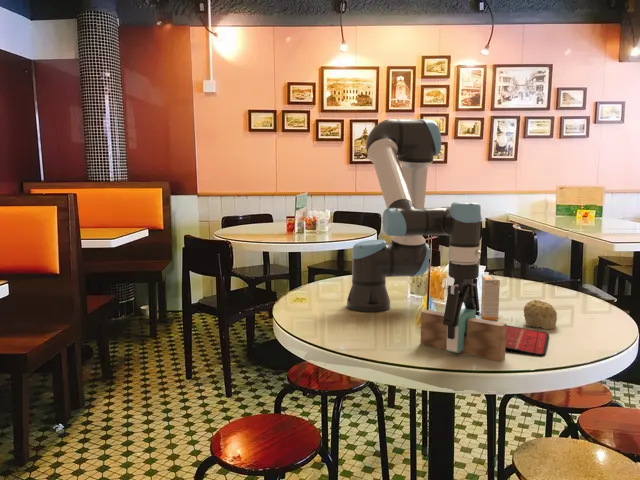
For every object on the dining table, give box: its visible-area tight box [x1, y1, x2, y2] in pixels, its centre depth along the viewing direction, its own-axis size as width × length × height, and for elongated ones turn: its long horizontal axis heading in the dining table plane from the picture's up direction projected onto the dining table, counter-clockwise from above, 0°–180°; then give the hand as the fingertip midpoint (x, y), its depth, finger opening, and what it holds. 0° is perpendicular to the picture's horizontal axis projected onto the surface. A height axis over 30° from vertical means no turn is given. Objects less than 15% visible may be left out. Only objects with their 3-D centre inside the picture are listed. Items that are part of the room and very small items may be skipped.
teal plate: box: [446, 307, 477, 354], centre depth 135 cm, size 11×3×9 cm, turn 142°
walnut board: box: [420, 309, 508, 362], centre depth 135 cm, size 22×3×9 cm, turn 52°
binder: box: [505, 324, 550, 357], centre depth 143 cm, size 16×2×21 cm
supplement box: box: [480, 274, 501, 321], centre depth 167 cm, size 8×5×13 cm, turn 168°
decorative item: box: [523, 299, 558, 330], centre depth 158 cm, size 10×10×10 cm
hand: (461, 344), depth 135 cm, fingers closed on teal plate, 11 cm apart
